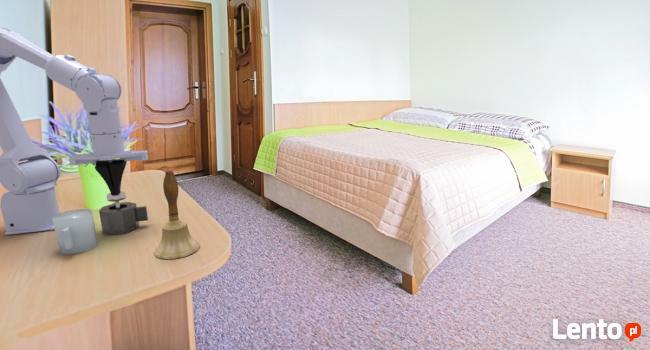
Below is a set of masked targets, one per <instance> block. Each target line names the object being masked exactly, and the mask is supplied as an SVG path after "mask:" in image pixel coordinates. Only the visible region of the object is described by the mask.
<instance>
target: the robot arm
mask: <svg viewBox="0 0 650 350" xmlns="http://www.w3.org/2000/svg"><path fill="white" fill-rule="evenodd" d="M17 58H19V59H21V60H23V61H26V62H28V63H30V64H32V65H34V66H36V67H39V68H40V69H43V70H45V74H46V75H47V77H48V78H49V79H50V80H51V81H53V82H55V83H57V84H59V85H61V86H63V87H65V88H67V89H69V90H71V91H73V92H74V93H75V94H76V96H77V98H78V99H79V100H80V101H81V103H82V106H83V110H84V111H86V117H87V122H88V123H87V124H88V130H89V134H90V140H91V144H92V151H93V152H91V153H88V152H87V153H81V154H71V155H69V156H68V160H69V165H70V166H77V165H85V164H95V166H94V169H95V171H96V172H97V173H98V174H99V175H100V177H101V178H102V180H103V181H104V182H105V184H106V186H107V188H108V189H109V193H111V195H119V194H120V193H121V192H122V190H121V188H122V187H121V186H122V178H123V175H124V172H125V169H126V166H127V163H128V162H131V161H142V162H143V161H148V160H149V154H148V150H147V149H146V150H125V147H124V146H125V145H124V138H123V133H122V127H121V120H120V119H121V118H120V114H119V113H120V112H119V106H118V100H119V99H120V98H121V95H122V86H121V84H120V82H119V80H118V79H116V78H115V77H114V76H113V75H112V74H107V73H106V74H105V73H103V74H99V72H97V69H96V68H94V67H93V66H90V67H89V66H88V67H87V66H86V65H84V64H83V63H80V62H78V61H76V59H77V58H76V56H73V55H72V54H65V55H64V54H57V55H53V54H52V53H50V52H48V51H47V50H45V49H43V48H42V47H40V46H39V45H38V44H35V43H33V42H31V40H28V39H26V38H25V37H23V36H22V34H21V33H18V32H15V31H13V30H11V29H10V28H6V27H0V75H1V74H2V72H5V71H7V69H8V68H9V67H10V65H11V64H12V63H14V61H15V60H16V59H17ZM0 148H1V150H2V153H1V155H0V184H1V186H2V187H3V188H4V189H5V190H6V192H5V193H3V194H2V196H1V198H0V211H1V214H2V215H1V216H2V219H3V222H4V223H3V224H4V226H5V231H6V232H4V235H5V236H8V235H17V234H27V233H36V232H44V231H53V230H54V231H55V228H54V223H53V217H54V216H55V215H57V214H60V213H61V212H60V209H59V204H58V197H57V195H56V193H57V192H56V187H55V186H57V181H58V180H59V179H60V176H61V168H60V165H59V164H58V163H57V161H56V160H55V159H54V158H52V156H51V155H50V154H49V151H48V150H47V149H44V148H43V147H41V146H38V145H36V144H35V143H34V142H33V140H32V138H31V136H30V134H29V133H28V130H27V128H26V126H25V124H24V121H22V118H21V117H20V114H19V111H18V110H17V108H16V107H15V104H14V102H13V100H12V98H11V97H10V95H9V93H8V91H7V89H6V86H5V85H4V83H3V81H2V79H1V78H0Z"/></svg>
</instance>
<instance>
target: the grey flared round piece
mask: <svg viewBox="0 0 650 350" xmlns="http://www.w3.org/2000/svg"><path fill="white" fill-rule="evenodd" d="M126 195H127V194H126V192H125V191H121V193H120V194H119V195H111V192H108V193H107V194H106V200H107V202H110V203H111V202H112V203H113V202H114V203H115V204H116V209H120V203H121V201H124V200H126V199H127V196H126Z"/></svg>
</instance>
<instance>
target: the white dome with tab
mask: <svg viewBox="0 0 650 350" xmlns="http://www.w3.org/2000/svg"><path fill="white" fill-rule="evenodd" d="M53 223H54V228H55V229H54V232H55V233H54V234H55V237H56V240H57V246H58V251H59V253H60V254H61V255H67V256H68V255H77V254H80V253H85V252H88V251H90V250H93V249H94V248H96V247H97V246H98V245H99V242H98V237H97V230H96V223H95V219H94V214H93V210H92V209H87V208H80V209H73V210H67V211H63V212H60V214H57V215H55V216H54V217H53Z"/></svg>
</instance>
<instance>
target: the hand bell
mask: <svg viewBox="0 0 650 350" xmlns="http://www.w3.org/2000/svg"><path fill="white" fill-rule="evenodd" d="M162 186H163V187H162V188H163V193H164V197H165V199H166V202H167V204H168V206H167V207H168V221H167V222H165V223H164V224H163V225H162V227H161V238H160V243H158V245H157V247H156V248H155V250H154V256H155V257H156V258H157V259H161V260H162V259H163V260H177V259H181V258H185V257H188V256H191V255H192V254H194V253H196V252H198V251H199V249H200V247H201V245H200V242H198V241H197V240H196V239H194V237H192V235H191V233H190V231H189V228H188V227H189V226H188V223H187V222H186V221H184V220H181V219H179V210H178V209H179V208H178V203H177V202H178V197H179V183H178V180H177V178H176V175H175V173H174V170H170V169H169V170H165V173H164V178H163V185H162Z"/></svg>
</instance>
